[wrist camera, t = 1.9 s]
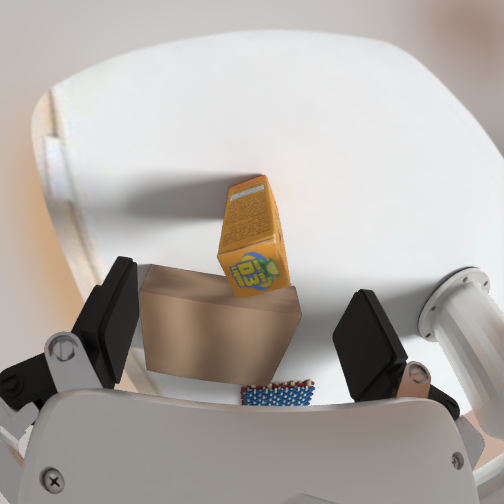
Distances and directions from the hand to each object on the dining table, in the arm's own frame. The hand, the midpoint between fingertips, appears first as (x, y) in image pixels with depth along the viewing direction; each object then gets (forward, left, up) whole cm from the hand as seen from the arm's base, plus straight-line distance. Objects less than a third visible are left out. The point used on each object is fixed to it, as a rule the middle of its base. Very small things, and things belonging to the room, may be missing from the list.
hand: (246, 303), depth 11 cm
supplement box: (-1, 0, -13) cm, 13 cm away
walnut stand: (0, +14, -13) cm, 19 cm away
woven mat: (-11, +30, -14) cm, 35 cm away
